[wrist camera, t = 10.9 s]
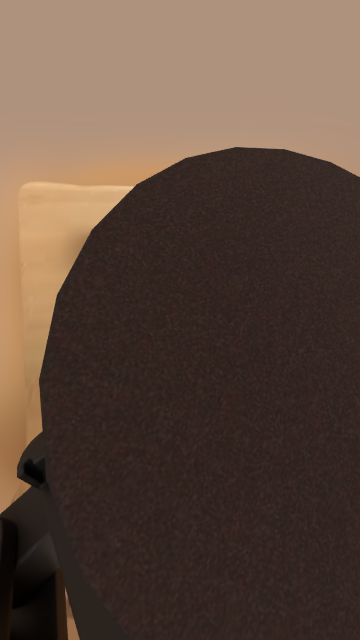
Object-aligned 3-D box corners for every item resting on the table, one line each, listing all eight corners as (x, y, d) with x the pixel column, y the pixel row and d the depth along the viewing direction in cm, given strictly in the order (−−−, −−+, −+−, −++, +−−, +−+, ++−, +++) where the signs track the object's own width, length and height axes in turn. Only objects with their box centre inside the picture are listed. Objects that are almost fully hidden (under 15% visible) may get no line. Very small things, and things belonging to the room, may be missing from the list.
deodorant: (125, 409, 16) (1, 913, 1) (125, 330, 17) (57, 111, 2) (203, 401, 17) (595, 607, 2) (197, 328, 18) (436, 174, 4)
